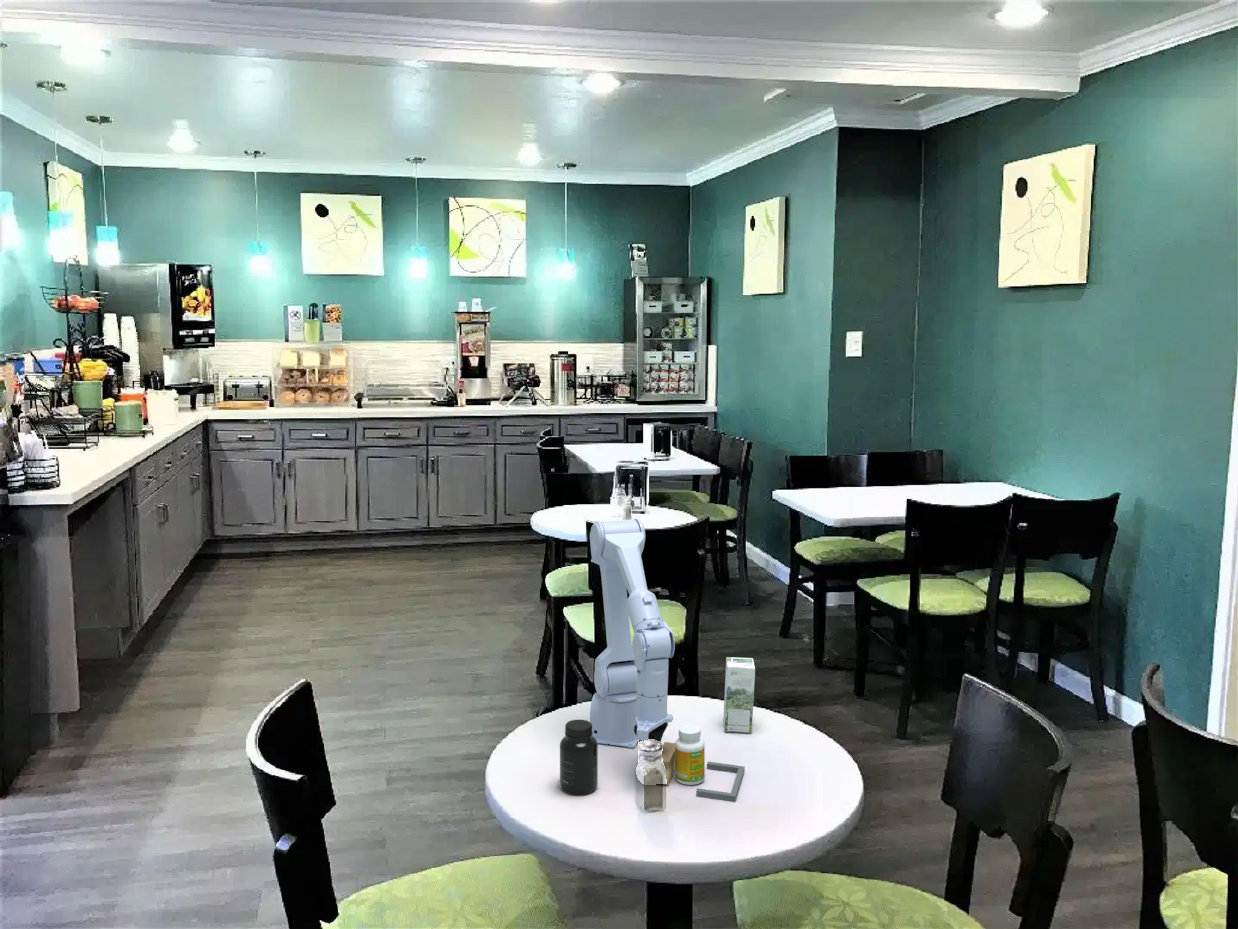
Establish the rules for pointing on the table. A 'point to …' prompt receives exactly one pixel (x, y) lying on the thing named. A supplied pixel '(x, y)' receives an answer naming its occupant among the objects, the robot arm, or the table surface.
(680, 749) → the supplement bottle
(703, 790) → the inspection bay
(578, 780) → the supplement bottle
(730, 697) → the syrup box
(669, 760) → the bar
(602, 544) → the robot arm
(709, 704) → the table surface
